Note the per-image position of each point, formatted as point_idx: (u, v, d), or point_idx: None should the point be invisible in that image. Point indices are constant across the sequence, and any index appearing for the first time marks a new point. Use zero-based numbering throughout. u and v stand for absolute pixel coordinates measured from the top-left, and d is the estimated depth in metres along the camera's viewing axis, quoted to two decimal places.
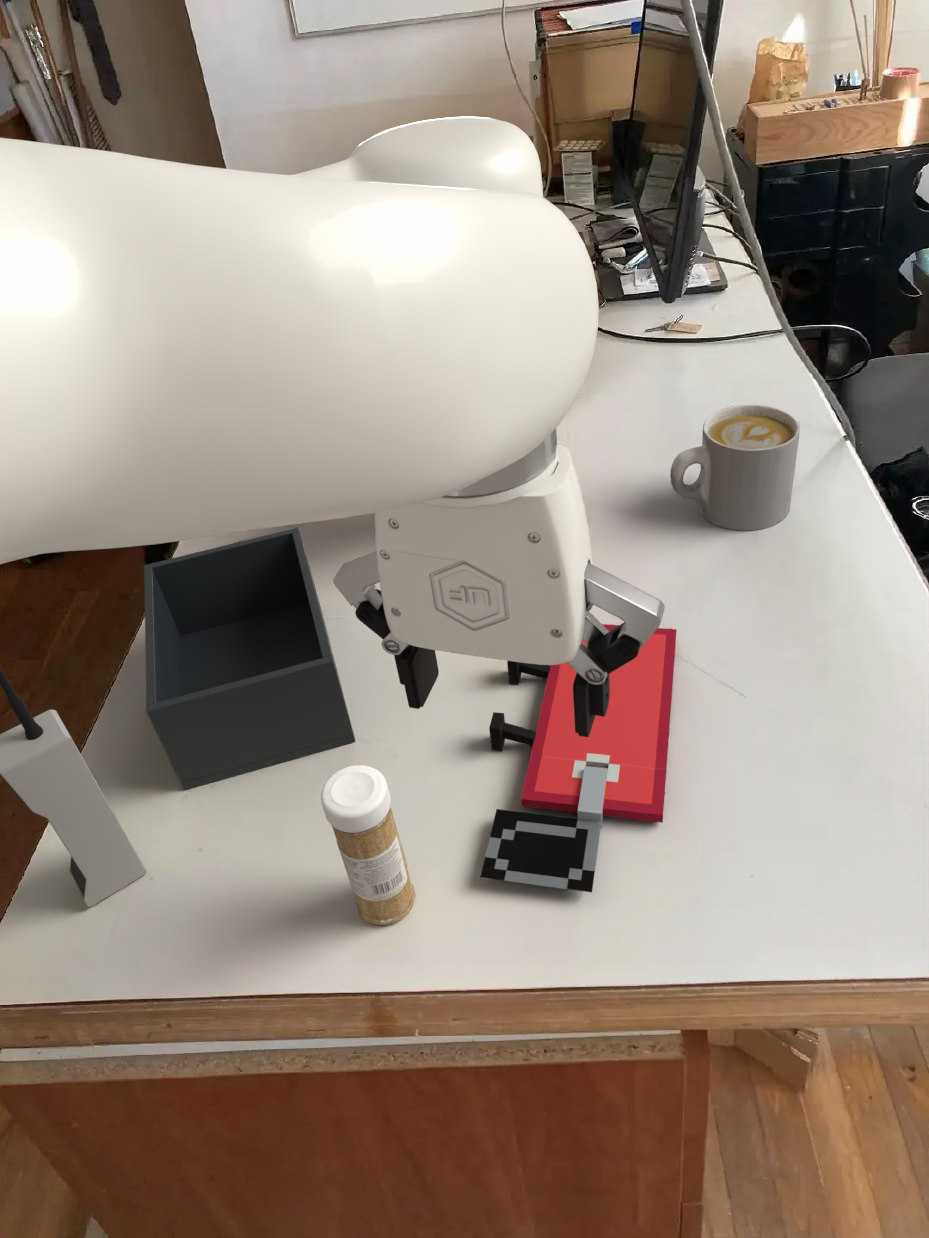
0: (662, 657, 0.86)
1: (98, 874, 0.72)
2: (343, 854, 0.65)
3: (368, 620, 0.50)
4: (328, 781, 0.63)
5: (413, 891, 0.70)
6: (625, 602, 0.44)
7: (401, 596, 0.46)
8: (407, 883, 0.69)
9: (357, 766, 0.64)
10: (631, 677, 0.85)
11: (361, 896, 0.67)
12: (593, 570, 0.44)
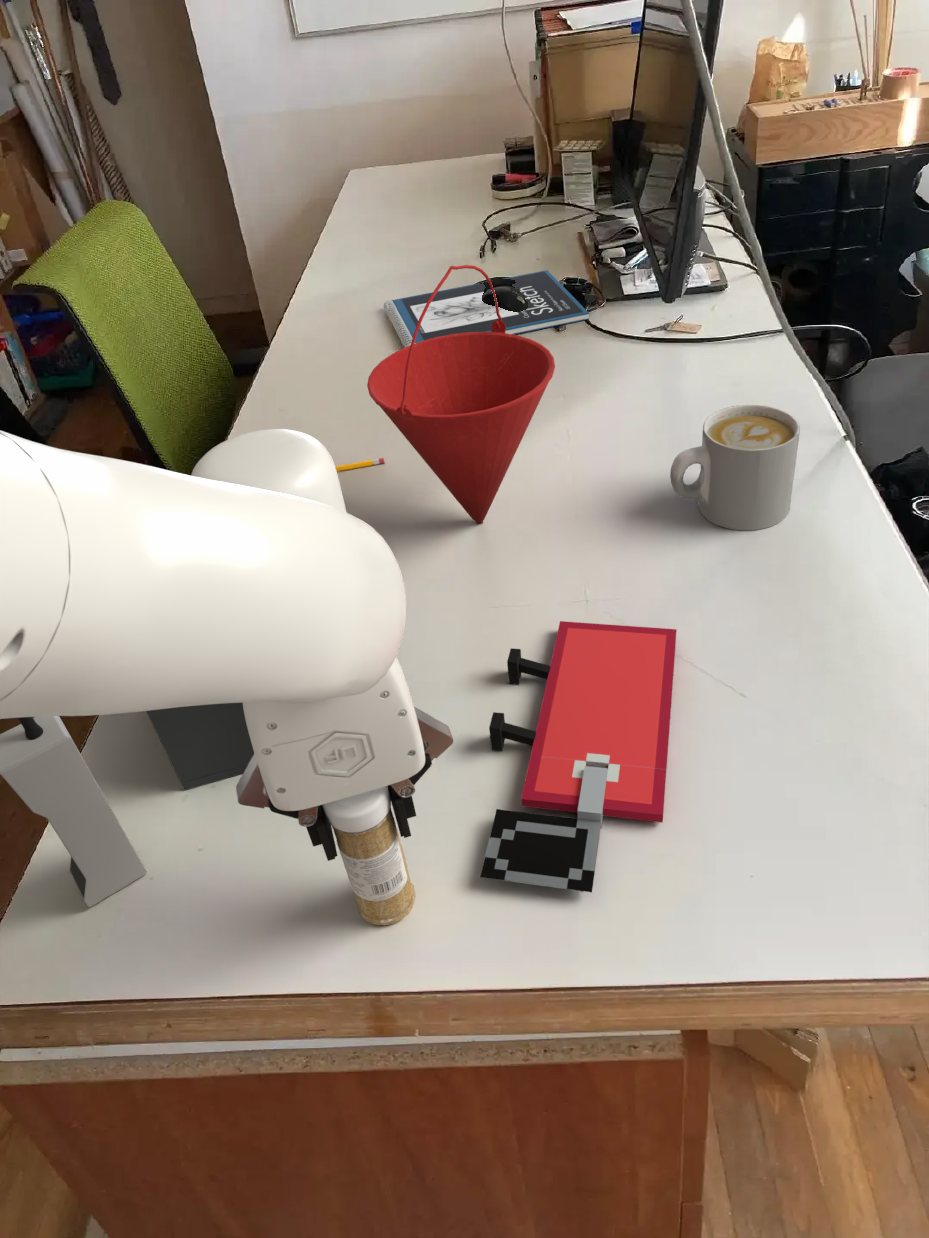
0: (662, 657, 0.86)
1: (98, 874, 0.72)
2: (343, 854, 0.65)
3: None
4: None
5: (413, 891, 0.70)
6: (434, 730, 0.60)
7: (284, 777, 0.56)
8: (407, 883, 0.69)
9: None
10: (631, 677, 0.85)
11: (361, 896, 0.67)
12: None
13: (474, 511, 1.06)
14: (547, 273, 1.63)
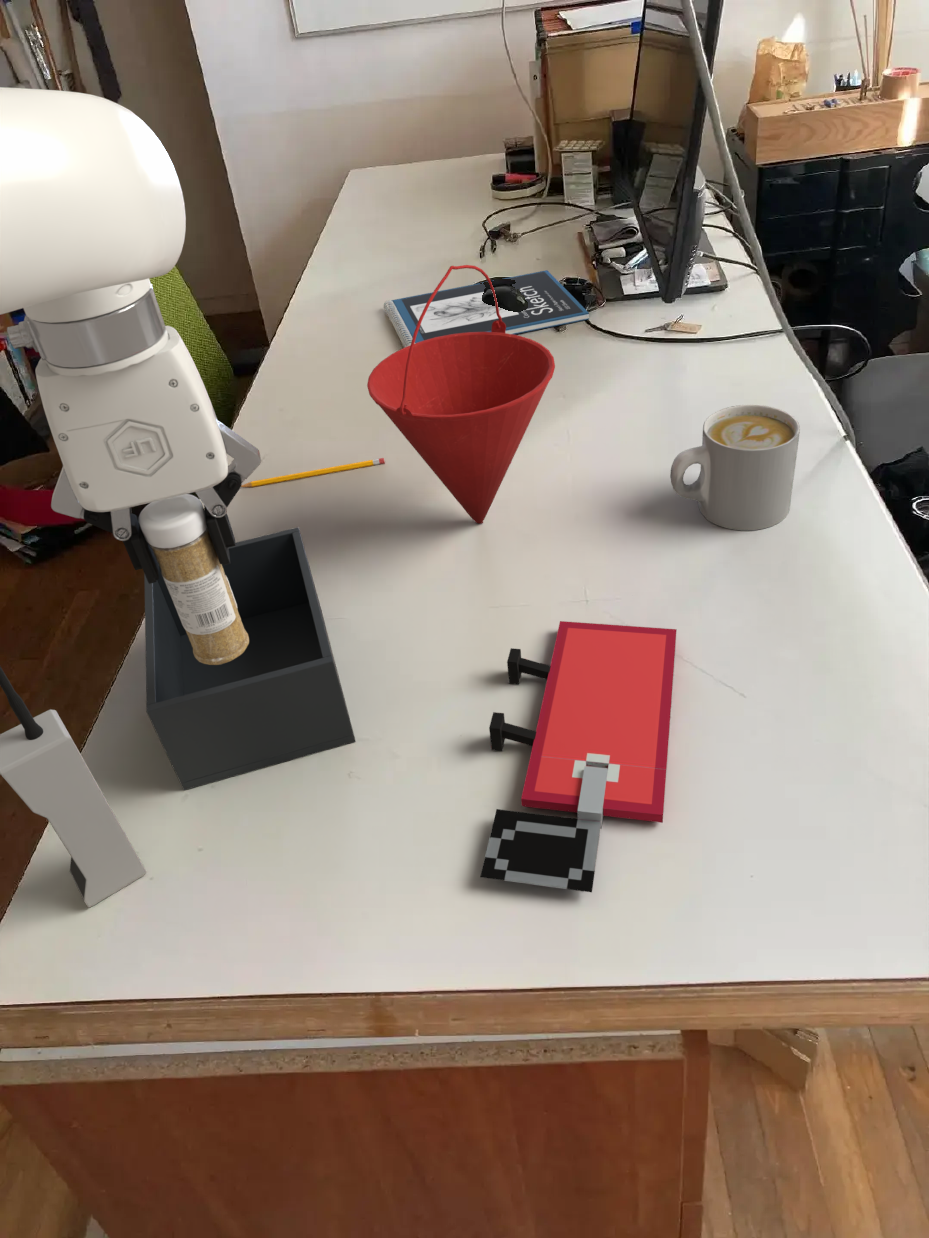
0: (662, 657, 0.86)
1: (98, 874, 0.72)
2: (165, 580, 0.68)
3: (96, 519, 0.64)
4: (148, 505, 0.67)
5: (246, 637, 0.74)
6: (239, 445, 0.64)
7: (85, 469, 0.60)
8: (237, 623, 0.72)
9: None
10: (631, 677, 0.85)
11: (189, 630, 0.71)
12: None
13: (474, 511, 1.06)
14: (547, 273, 1.63)
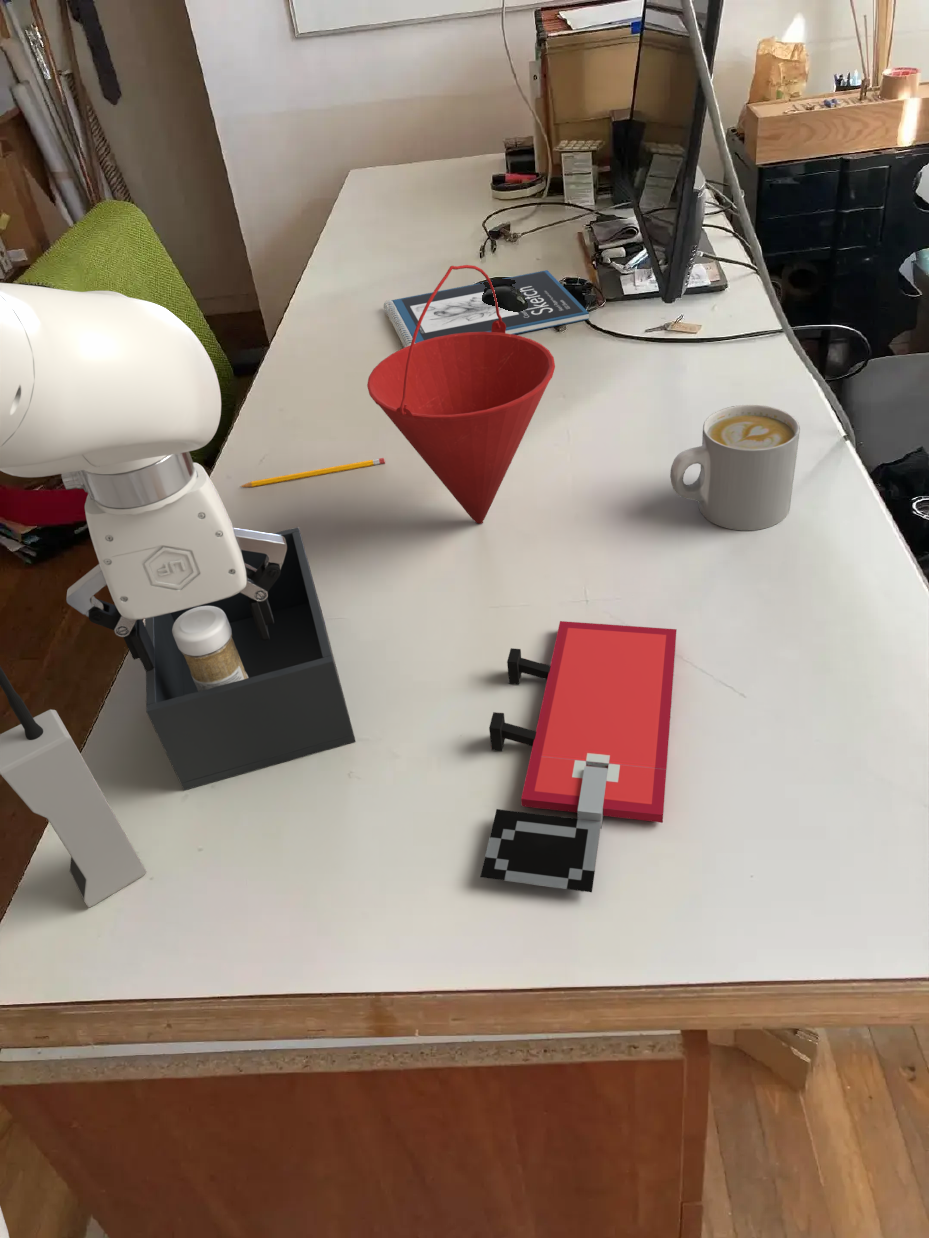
0: (662, 657, 0.86)
1: (98, 874, 0.72)
2: (194, 679, 0.79)
3: (100, 619, 0.73)
4: (179, 617, 0.77)
5: None
6: (263, 541, 0.73)
7: (125, 586, 0.70)
8: None
9: (204, 606, 0.78)
10: (631, 677, 0.85)
11: None
12: (237, 530, 0.73)
13: (474, 511, 1.06)
14: (547, 273, 1.63)
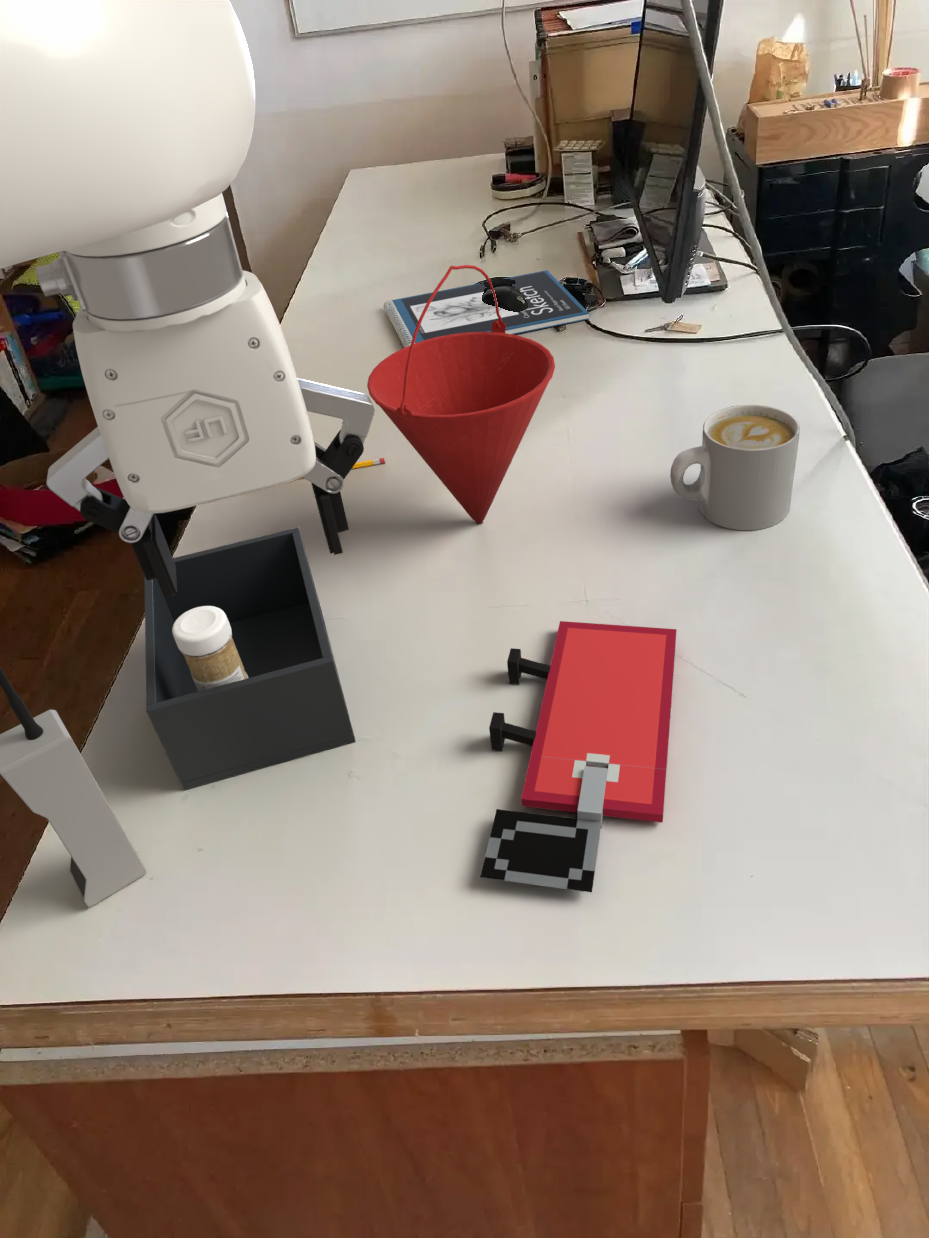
0: (662, 657, 0.86)
1: (98, 874, 0.72)
2: (194, 680, 0.79)
3: (97, 515, 0.49)
4: (179, 617, 0.77)
5: None
6: (340, 399, 0.49)
7: (135, 458, 0.46)
8: None
9: (204, 606, 0.78)
10: (631, 677, 0.85)
11: None
12: (302, 382, 0.49)
13: (474, 511, 1.06)
14: (547, 273, 1.63)
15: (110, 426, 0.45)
